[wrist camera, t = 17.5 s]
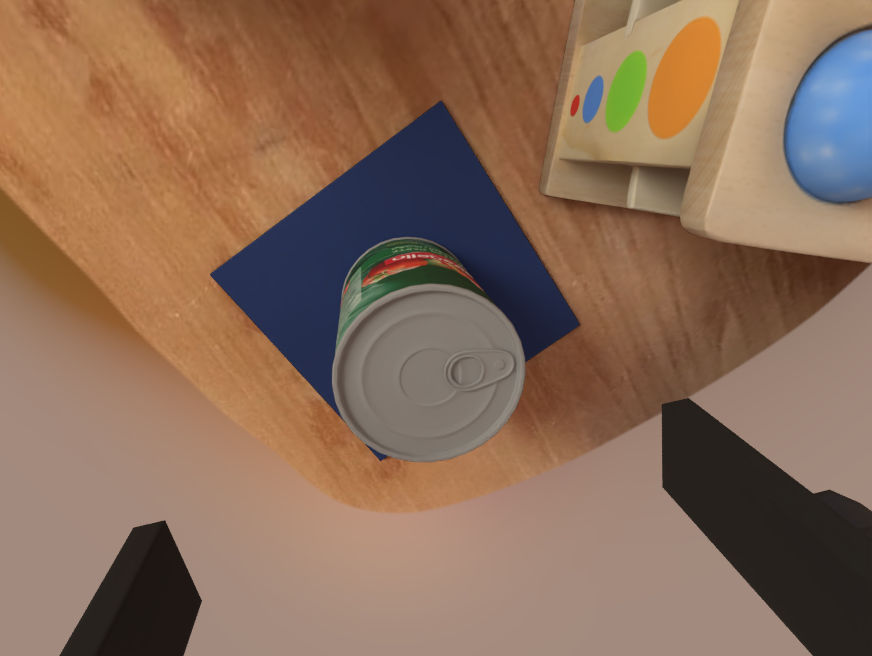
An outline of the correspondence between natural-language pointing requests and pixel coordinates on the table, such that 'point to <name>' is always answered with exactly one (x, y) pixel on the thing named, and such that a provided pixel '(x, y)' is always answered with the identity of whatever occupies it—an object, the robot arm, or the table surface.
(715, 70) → the pounding bench toy
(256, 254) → the cloth
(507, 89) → the table surface
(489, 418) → the canned tomato
